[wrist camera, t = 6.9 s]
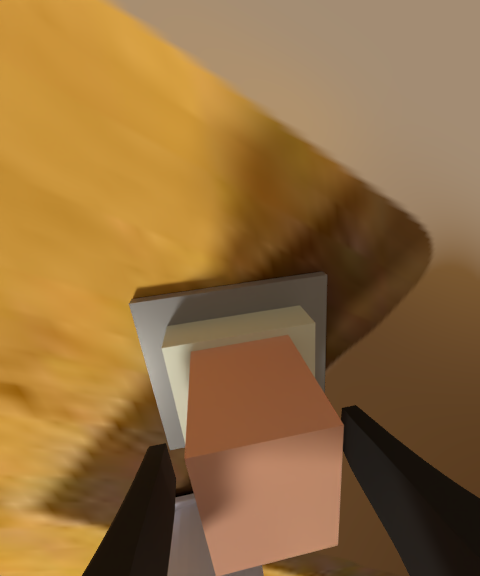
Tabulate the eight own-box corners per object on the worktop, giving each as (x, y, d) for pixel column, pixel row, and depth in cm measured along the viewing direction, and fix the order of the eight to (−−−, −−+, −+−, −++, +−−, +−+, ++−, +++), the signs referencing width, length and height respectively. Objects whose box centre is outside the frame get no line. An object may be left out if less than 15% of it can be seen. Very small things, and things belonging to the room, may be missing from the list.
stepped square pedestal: (320, 411, 18) (339, 446, 15) (171, 441, 17) (166, 483, 14) (322, 271, 14) (347, 288, 12) (131, 298, 13) (116, 323, 11)
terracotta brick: (292, 429, 14) (337, 545, 10) (210, 446, 14) (216, 576, 9) (288, 334, 12) (343, 424, 7) (190, 351, 12) (184, 459, 7)
